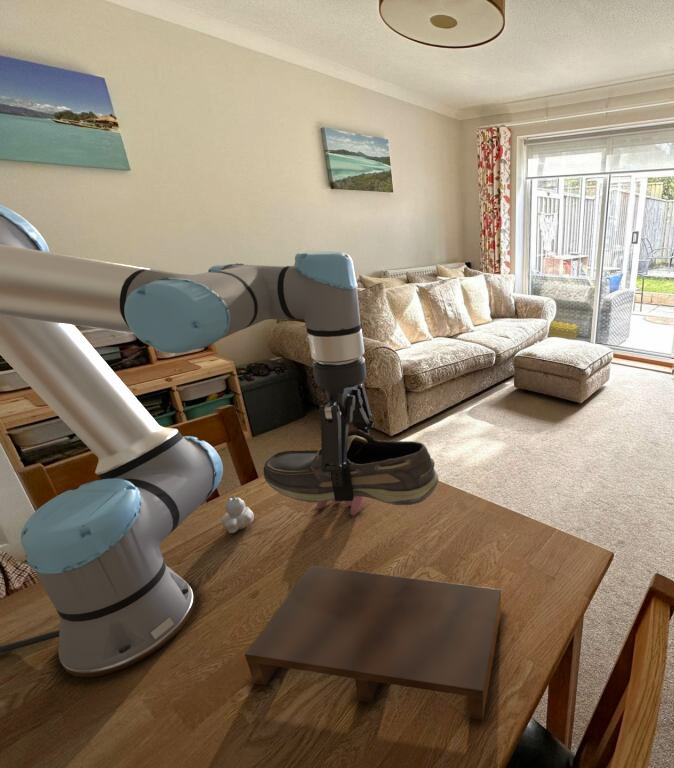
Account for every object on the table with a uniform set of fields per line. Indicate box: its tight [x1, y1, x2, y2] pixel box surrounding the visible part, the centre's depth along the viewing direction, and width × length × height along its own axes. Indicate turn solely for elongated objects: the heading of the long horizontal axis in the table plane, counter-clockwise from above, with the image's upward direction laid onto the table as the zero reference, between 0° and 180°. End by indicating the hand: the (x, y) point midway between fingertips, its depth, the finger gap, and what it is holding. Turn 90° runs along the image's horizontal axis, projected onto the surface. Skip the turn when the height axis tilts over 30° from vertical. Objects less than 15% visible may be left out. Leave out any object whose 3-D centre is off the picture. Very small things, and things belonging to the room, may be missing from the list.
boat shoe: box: [263, 428, 439, 506], centre depth 68 cm, size 11×29×11 cm, turn 89°
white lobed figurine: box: [221, 493, 255, 534], centre depth 81 cm, size 5×7×8 cm
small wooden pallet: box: [244, 565, 502, 721], centre depth 59 cm, size 32×15×6 cm, turn 83°
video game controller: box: [316, 496, 364, 516], centre depth 89 cm, size 10×5×7 cm, turn 77°
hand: (355, 478), depth 70 cm, fingers closed on boat shoe, 11 cm apart
